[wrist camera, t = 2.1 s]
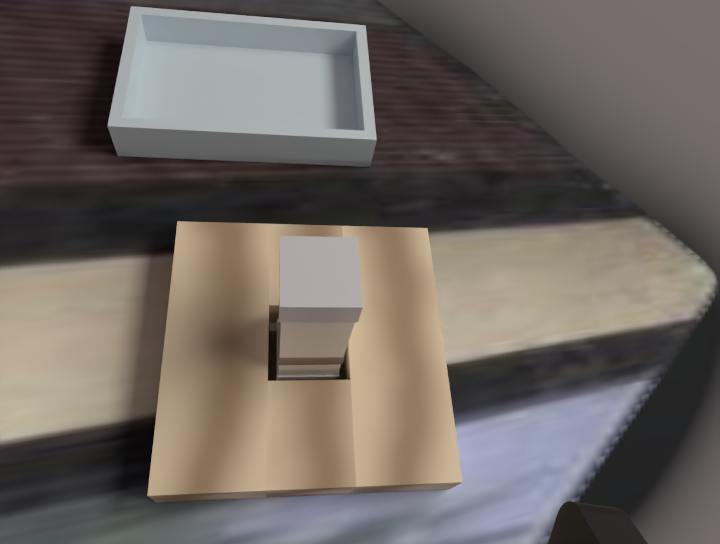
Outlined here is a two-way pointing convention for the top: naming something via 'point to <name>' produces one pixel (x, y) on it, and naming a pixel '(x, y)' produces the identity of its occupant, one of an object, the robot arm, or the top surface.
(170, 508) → the top surface
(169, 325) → the wooden board with hole
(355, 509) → the top surface
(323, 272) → the block
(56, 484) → the top surface
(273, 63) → the parts tray
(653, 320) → the top surface
